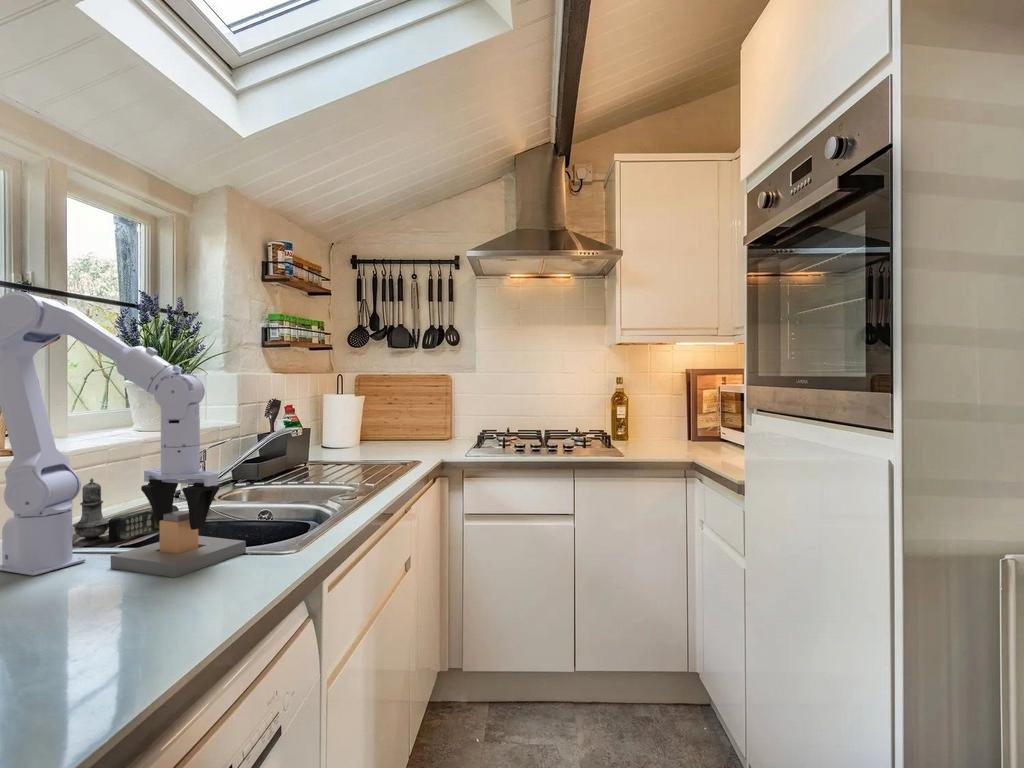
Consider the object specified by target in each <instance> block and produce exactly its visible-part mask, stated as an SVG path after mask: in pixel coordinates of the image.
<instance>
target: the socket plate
mask: <svg viewBox="0 0 1024 768" xmlns="http://www.w3.org/2000/svg"><path fill="white" fill-rule="evenodd" d="M246 543H247V542H246V540H241V539H233V538H232V539H230V538H222V537H212V536H205V535H204V536H203V535H198V548H197V549H193V550H190V551H187V552H184V553H181V554H174V553H166V552H160V541H157V542H154V543H151V544H147V545H143V546H140V547H136V548H132V549H129V550H126V551H123V552H118V553H115V554H112V555H110V569H113V570H122V571H128V572H134V573H141V572H142V574H147V573H149V575H154V574H155V575H156V576H161V575H162V576H163V577H168V578H178V577H181V576H183V575H186V574H189V573H192V572H195V571H198V570H200V569H203V568H206V567H208V566H211V565H215V564H216V563H219V562H222V561H225V560H228V559H231V558H234V557H236V556H240V555H243V554H245V553H246V552H247V547H246V546H247V545H246ZM162 576H161V577H162Z"/></svg>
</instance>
